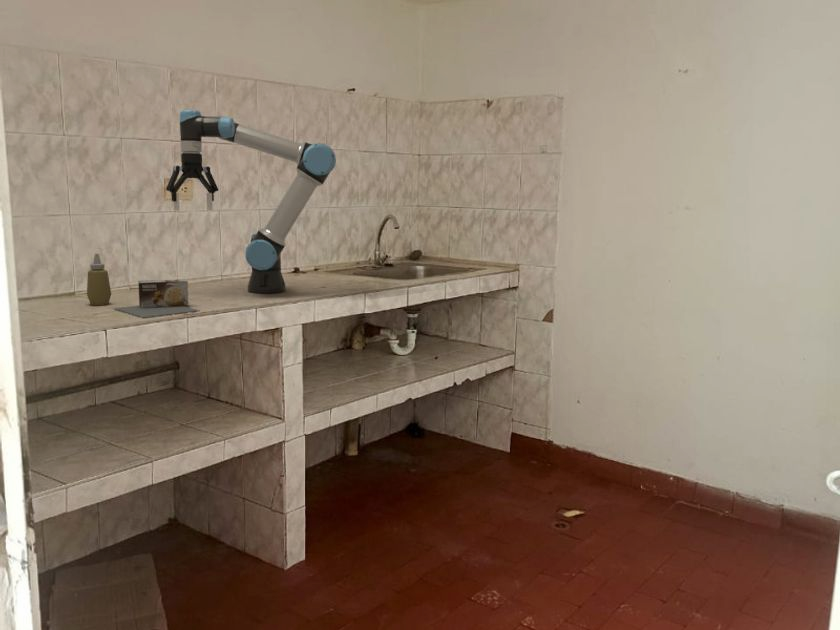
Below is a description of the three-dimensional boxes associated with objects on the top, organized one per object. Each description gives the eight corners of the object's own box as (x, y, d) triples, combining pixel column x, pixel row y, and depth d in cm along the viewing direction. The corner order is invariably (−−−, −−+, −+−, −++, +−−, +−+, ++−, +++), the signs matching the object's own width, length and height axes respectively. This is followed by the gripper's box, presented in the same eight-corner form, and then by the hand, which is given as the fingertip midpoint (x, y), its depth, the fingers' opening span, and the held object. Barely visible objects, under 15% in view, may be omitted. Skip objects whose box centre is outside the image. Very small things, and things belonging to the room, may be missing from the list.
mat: (168, 303, 269) (168, 302, 269) (199, 311, 254) (199, 310, 254) (113, 309, 255) (113, 308, 255) (143, 318, 240) (143, 317, 240)
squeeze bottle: (90, 307, 259) (87, 255, 256) (85, 303, 265) (81, 253, 262) (114, 305, 264) (111, 254, 260) (108, 301, 270) (105, 252, 267)
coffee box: (185, 278, 266) (137, 279, 260) (188, 280, 260) (139, 281, 254) (186, 303, 268) (138, 305, 261) (188, 306, 262) (140, 308, 255)
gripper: (164, 151, 267) (167, 211, 270) (226, 154, 284) (227, 210, 288) (155, 151, 272) (157, 210, 276) (216, 154, 289) (217, 209, 293)
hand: (193, 210), depth 282 cm, fingers open, 13 cm apart
